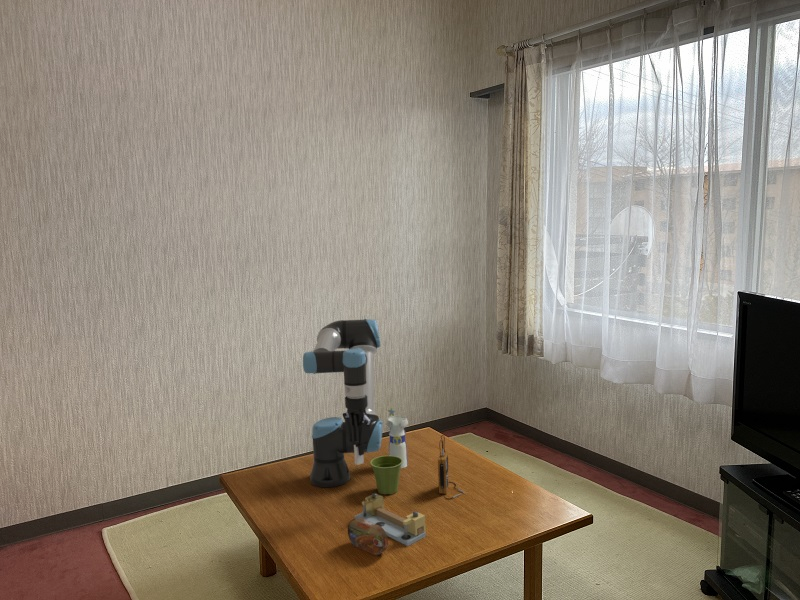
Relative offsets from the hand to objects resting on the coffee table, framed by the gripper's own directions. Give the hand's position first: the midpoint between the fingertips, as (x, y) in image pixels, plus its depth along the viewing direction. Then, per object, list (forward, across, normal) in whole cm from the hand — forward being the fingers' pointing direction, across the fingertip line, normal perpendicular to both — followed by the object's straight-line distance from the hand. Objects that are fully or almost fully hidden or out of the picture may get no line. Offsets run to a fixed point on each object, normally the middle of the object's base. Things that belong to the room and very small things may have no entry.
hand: (359, 463), depth 210 cm
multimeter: (+17, +14, +32) cm, 39 cm away
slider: (+15, +7, -1) cm, 16 cm away
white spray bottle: (+17, -18, +35) cm, 43 cm away
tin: (+17, +21, -15) cm, 31 cm away
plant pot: (+17, -4, +16) cm, 24 cm away
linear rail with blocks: (+17, +16, -2) cm, 23 cm away
